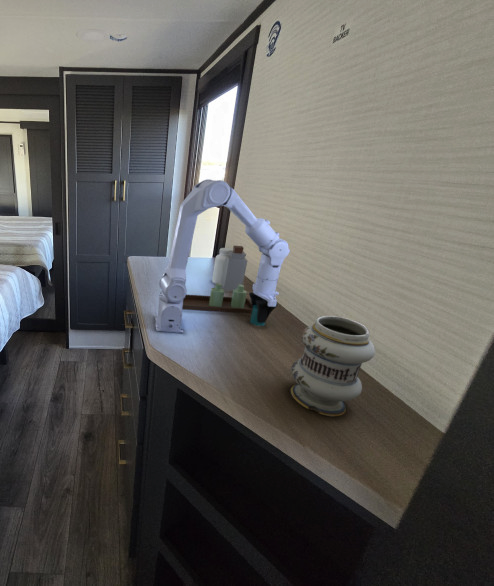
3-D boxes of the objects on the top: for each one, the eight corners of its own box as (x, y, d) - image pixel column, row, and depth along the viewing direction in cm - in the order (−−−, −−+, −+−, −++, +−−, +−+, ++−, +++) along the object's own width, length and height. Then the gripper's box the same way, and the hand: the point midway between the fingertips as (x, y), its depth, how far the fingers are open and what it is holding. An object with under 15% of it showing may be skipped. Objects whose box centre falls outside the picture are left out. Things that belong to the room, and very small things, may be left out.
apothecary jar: (282, 404, 65) (304, 327, 58) (287, 375, 74) (307, 306, 68) (354, 430, 59) (388, 347, 52) (350, 395, 68) (378, 321, 61)
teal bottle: (266, 328, 97) (272, 304, 94) (251, 327, 97) (257, 303, 94) (261, 322, 101) (266, 299, 98) (247, 321, 101) (252, 298, 98)
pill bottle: (207, 281, 138) (212, 247, 132) (221, 279, 141) (226, 246, 135) (221, 287, 131) (226, 252, 126) (235, 284, 134) (241, 250, 129)
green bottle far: (245, 309, 108) (249, 288, 105) (232, 308, 108) (236, 287, 105) (241, 304, 112) (245, 283, 109) (229, 303, 112) (232, 283, 109)
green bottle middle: (223, 308, 108) (226, 286, 106) (210, 307, 109) (213, 286, 106) (220, 303, 112) (223, 282, 110) (207, 302, 113) (210, 281, 110)
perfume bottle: (241, 293, 125) (249, 249, 118) (223, 291, 126) (230, 248, 119) (237, 287, 131) (245, 245, 124) (221, 286, 132) (228, 244, 125)
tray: (257, 316, 105) (258, 310, 104) (179, 311, 107) (180, 305, 107) (247, 303, 115) (248, 298, 114) (176, 299, 117) (177, 293, 116)
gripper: (292, 286, 86) (281, 330, 91) (272, 271, 99) (263, 309, 104) (265, 285, 87) (255, 328, 92) (249, 270, 100) (241, 308, 105)
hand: (258, 318), depth 98 cm, fingers closed on teal bottle, 4 cm apart
